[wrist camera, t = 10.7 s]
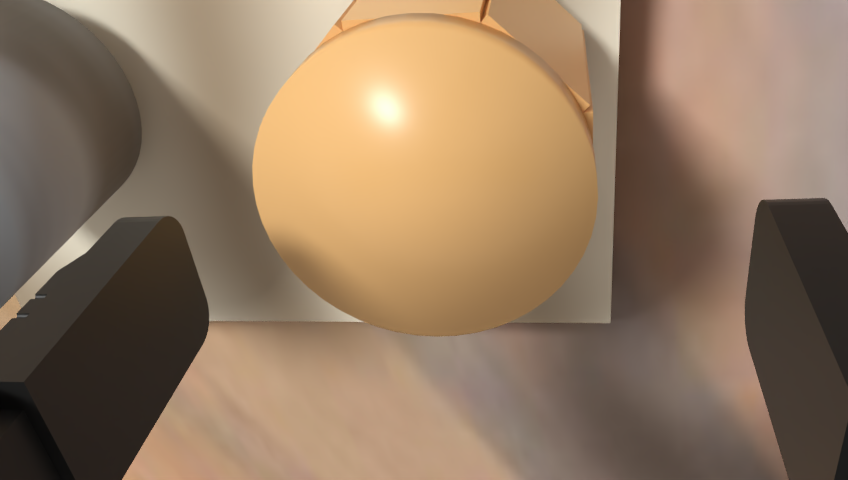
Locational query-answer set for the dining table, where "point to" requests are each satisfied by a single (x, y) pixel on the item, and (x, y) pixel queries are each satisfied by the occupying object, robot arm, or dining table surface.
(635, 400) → the dining table surface
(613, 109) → the board
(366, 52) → the orange cap
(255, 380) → the dining table surface
